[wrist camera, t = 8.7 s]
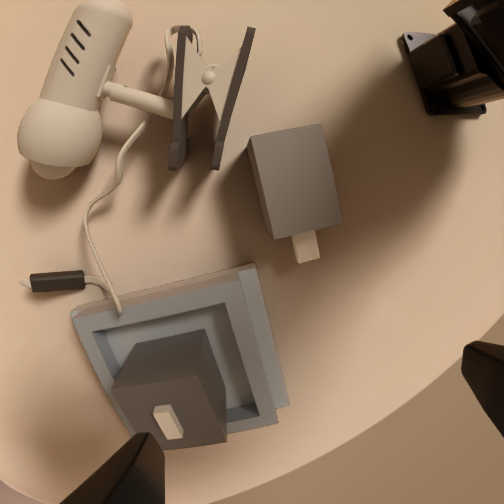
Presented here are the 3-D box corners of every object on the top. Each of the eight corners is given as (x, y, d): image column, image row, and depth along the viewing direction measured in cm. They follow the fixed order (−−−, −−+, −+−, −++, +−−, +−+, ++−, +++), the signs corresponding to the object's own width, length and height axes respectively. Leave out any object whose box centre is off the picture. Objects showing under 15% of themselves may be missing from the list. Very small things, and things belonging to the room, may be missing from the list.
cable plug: (304, 135, 17) (321, 123, 14) (328, 246, 19) (348, 258, 15) (246, 147, 17) (250, 136, 14) (272, 260, 19) (282, 275, 15)
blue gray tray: (254, 262, 18) (258, 274, 16) (286, 395, 21) (294, 419, 18) (77, 306, 18) (59, 321, 16) (132, 422, 20) (124, 445, 18)
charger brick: (204, 328, 18) (196, 382, 12) (226, 388, 19) (227, 449, 13) (135, 343, 18) (107, 396, 12) (161, 400, 19) (145, 458, 13)
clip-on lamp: (166, 302, 22) (269, 50, 15) (150, 364, 16) (290, 20, 10) (27, 248, 19) (94, 2, 13) (-19, 291, 13) (47, -30, 7)
